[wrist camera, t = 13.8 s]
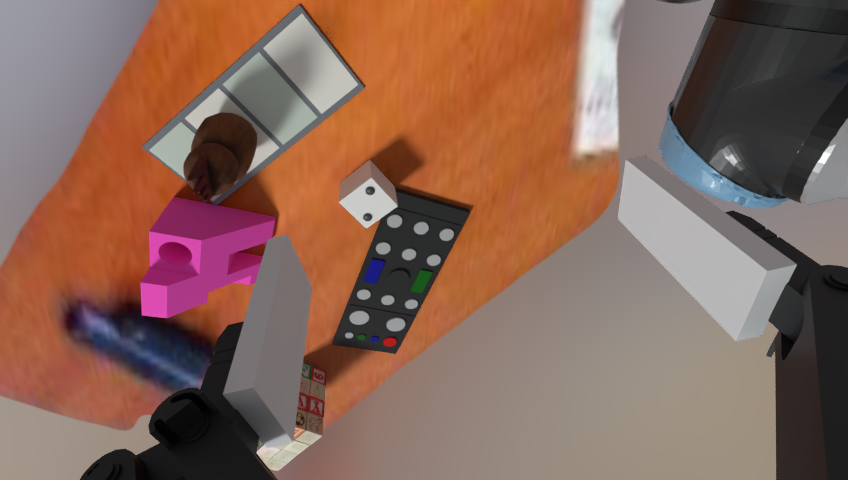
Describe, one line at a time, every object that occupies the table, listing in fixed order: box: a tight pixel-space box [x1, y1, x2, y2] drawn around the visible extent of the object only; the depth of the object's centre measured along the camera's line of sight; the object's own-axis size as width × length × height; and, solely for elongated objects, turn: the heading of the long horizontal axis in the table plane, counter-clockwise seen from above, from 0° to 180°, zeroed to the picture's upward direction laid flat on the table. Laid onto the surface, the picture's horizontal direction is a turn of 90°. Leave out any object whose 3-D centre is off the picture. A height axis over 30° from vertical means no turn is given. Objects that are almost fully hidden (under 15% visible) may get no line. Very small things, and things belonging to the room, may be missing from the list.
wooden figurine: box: [183, 112, 257, 202], centre depth 41 cm, size 7×6×15 cm
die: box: [339, 160, 398, 229], centre depth 51 cm, size 5×5×5 cm
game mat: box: [142, 5, 364, 206], centre depth 46 cm, size 24×10×1 cm, turn 125°
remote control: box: [333, 188, 470, 354], centre depth 63 cm, size 11×30×2 cm, turn 158°
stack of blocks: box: [257, 362, 326, 471], centre depth 71 cm, size 21×6×12 cm, turn 136°
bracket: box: [141, 197, 276, 318], centre depth 51 cm, size 12×10×10 cm
